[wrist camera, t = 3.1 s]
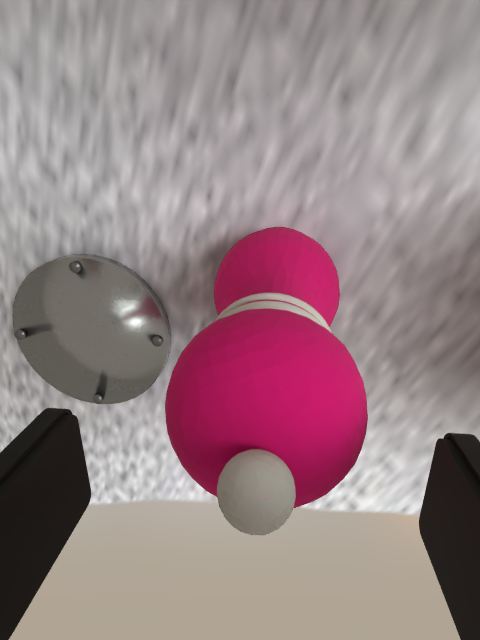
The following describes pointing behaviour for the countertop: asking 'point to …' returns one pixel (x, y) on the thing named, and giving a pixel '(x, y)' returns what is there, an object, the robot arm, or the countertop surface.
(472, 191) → the countertop surface
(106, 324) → the grey metal disc
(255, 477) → the pepper mill
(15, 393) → the countertop surface
